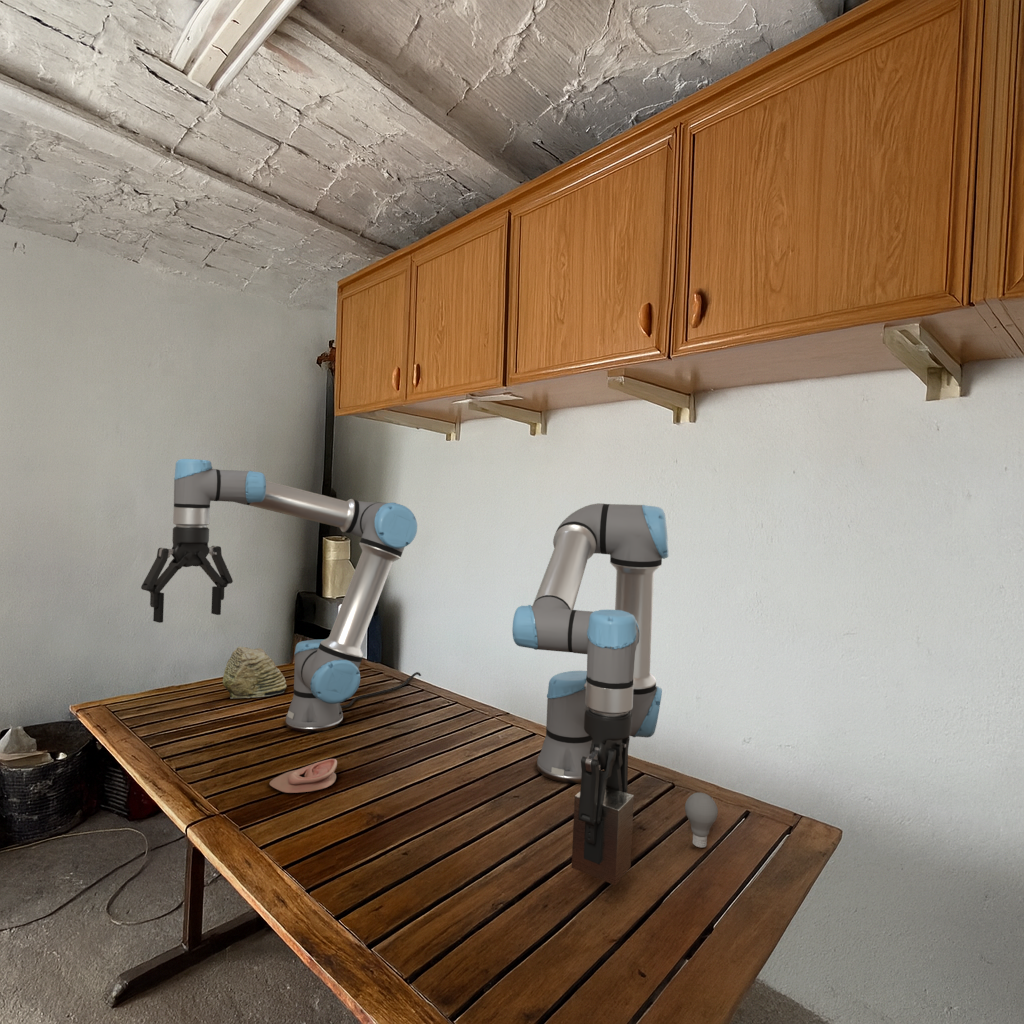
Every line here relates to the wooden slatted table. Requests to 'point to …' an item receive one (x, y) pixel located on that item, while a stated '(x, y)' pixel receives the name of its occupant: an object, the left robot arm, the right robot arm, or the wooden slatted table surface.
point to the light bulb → (701, 816)
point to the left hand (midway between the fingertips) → (188, 617)
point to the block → (607, 837)
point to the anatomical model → (307, 778)
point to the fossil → (252, 674)
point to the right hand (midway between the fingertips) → (601, 850)
